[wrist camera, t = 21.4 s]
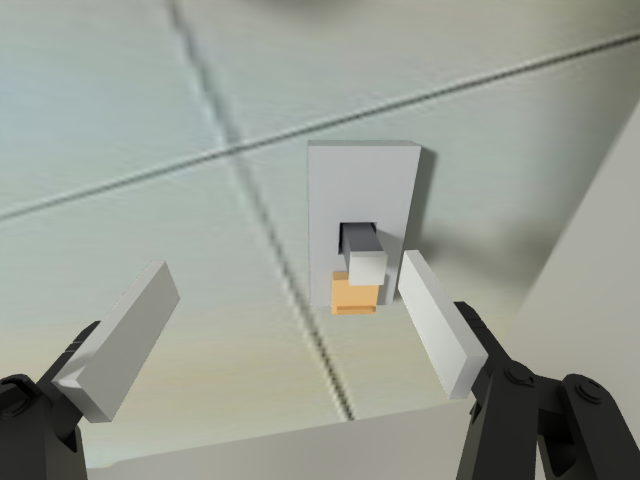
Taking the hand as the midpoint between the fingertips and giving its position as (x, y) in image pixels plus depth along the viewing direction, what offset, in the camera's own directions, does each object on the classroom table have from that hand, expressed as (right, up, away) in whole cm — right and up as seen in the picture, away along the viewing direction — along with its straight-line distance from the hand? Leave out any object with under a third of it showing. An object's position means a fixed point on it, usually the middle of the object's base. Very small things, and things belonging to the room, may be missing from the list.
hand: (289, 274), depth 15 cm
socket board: (+7, +4, +27) cm, 28 cm away
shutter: (+7, -6, +28) cm, 29 cm away
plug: (+7, +4, +27) cm, 28 cm away
